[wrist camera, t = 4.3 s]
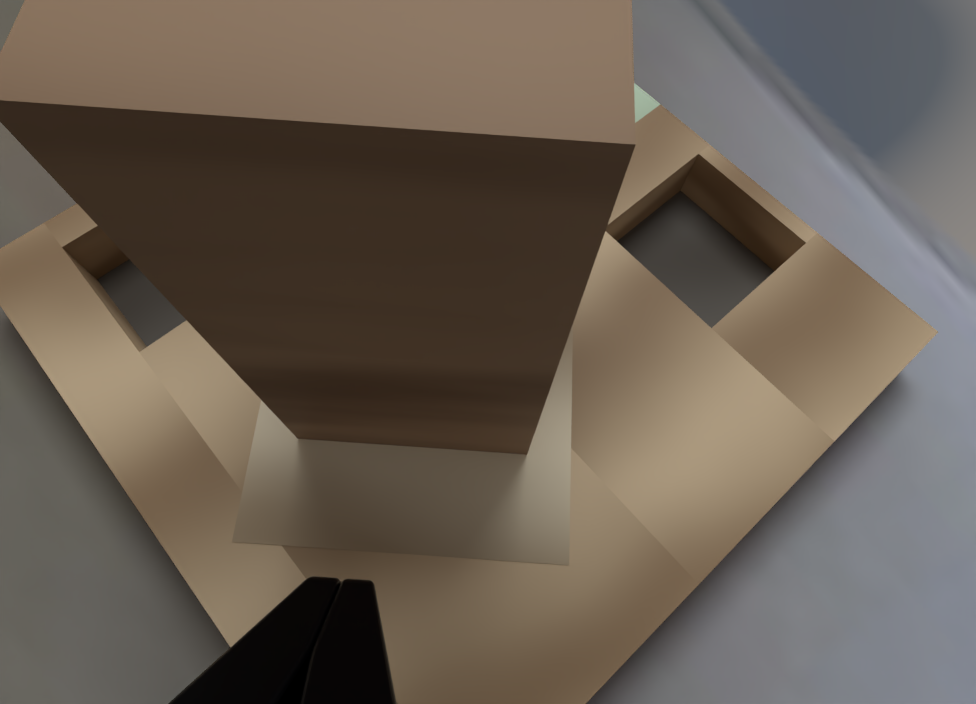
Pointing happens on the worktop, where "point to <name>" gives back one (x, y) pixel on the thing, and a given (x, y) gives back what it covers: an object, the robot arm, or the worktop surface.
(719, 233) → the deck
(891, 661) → the worktop surface
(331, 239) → the walnut box
